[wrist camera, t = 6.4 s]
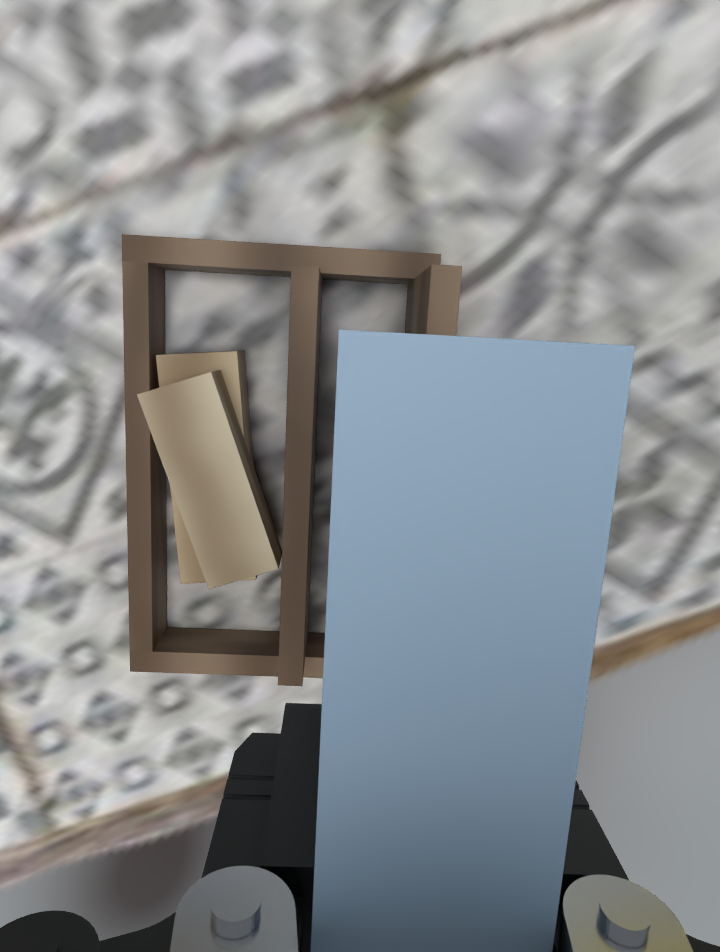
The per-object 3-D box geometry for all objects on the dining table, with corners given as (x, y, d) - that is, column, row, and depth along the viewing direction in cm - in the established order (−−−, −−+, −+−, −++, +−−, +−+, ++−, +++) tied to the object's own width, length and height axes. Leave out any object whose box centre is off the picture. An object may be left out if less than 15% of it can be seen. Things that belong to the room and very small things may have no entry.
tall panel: (417, 342, 21) (635, 345, 5) (391, 727, 24) (482, 1459, 8) (341, 338, 21) (339, 328, 5) (323, 725, 24) (287, 1459, 8)
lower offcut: (245, 350, 35) (236, 351, 32) (262, 560, 37) (255, 579, 35) (171, 353, 35) (155, 355, 32) (193, 564, 37) (180, 583, 34)
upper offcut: (220, 369, 32) (210, 372, 30) (282, 552, 34) (278, 568, 32) (152, 390, 32) (136, 394, 30) (218, 571, 34) (208, 589, 32)
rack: (432, 261, 34) (464, 233, 25) (403, 654, 38) (421, 748, 30) (141, 243, 33) (69, 209, 24) (146, 645, 38) (87, 738, 29)
